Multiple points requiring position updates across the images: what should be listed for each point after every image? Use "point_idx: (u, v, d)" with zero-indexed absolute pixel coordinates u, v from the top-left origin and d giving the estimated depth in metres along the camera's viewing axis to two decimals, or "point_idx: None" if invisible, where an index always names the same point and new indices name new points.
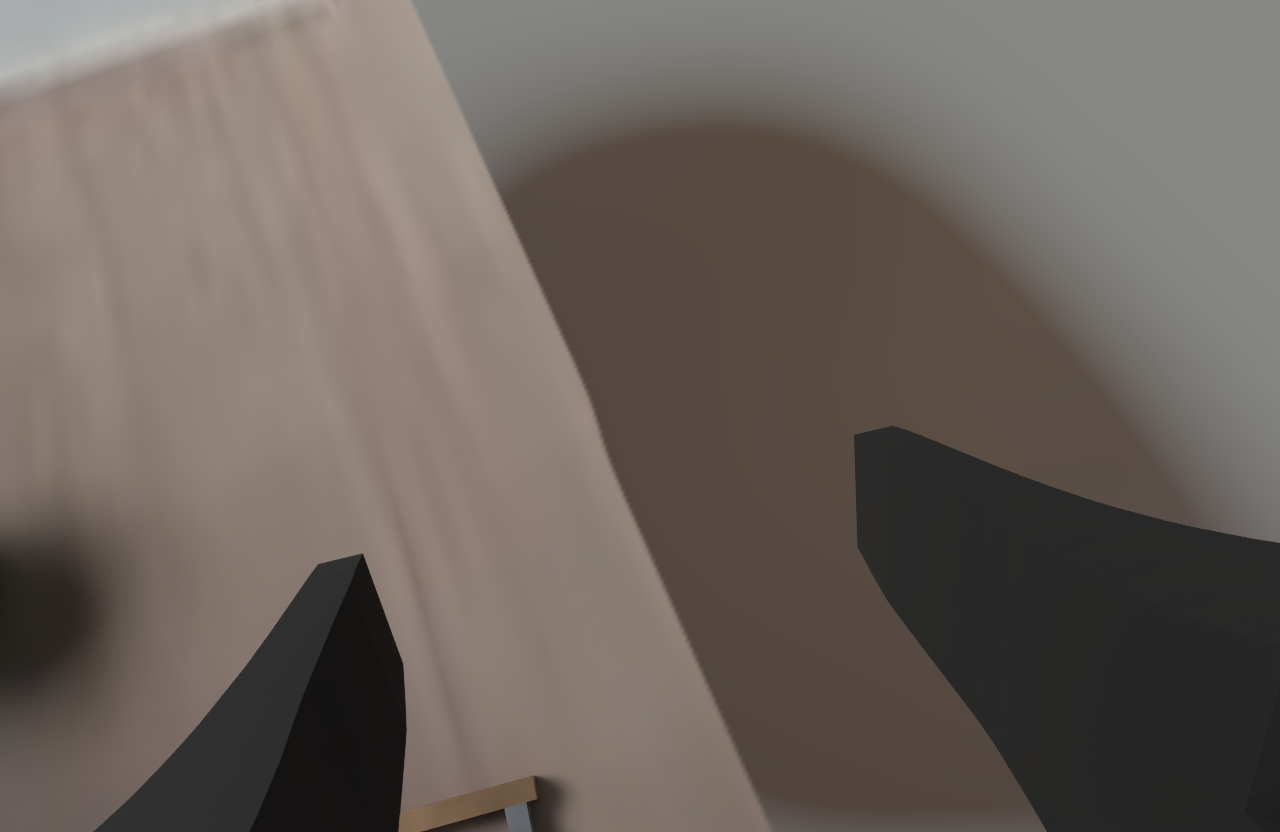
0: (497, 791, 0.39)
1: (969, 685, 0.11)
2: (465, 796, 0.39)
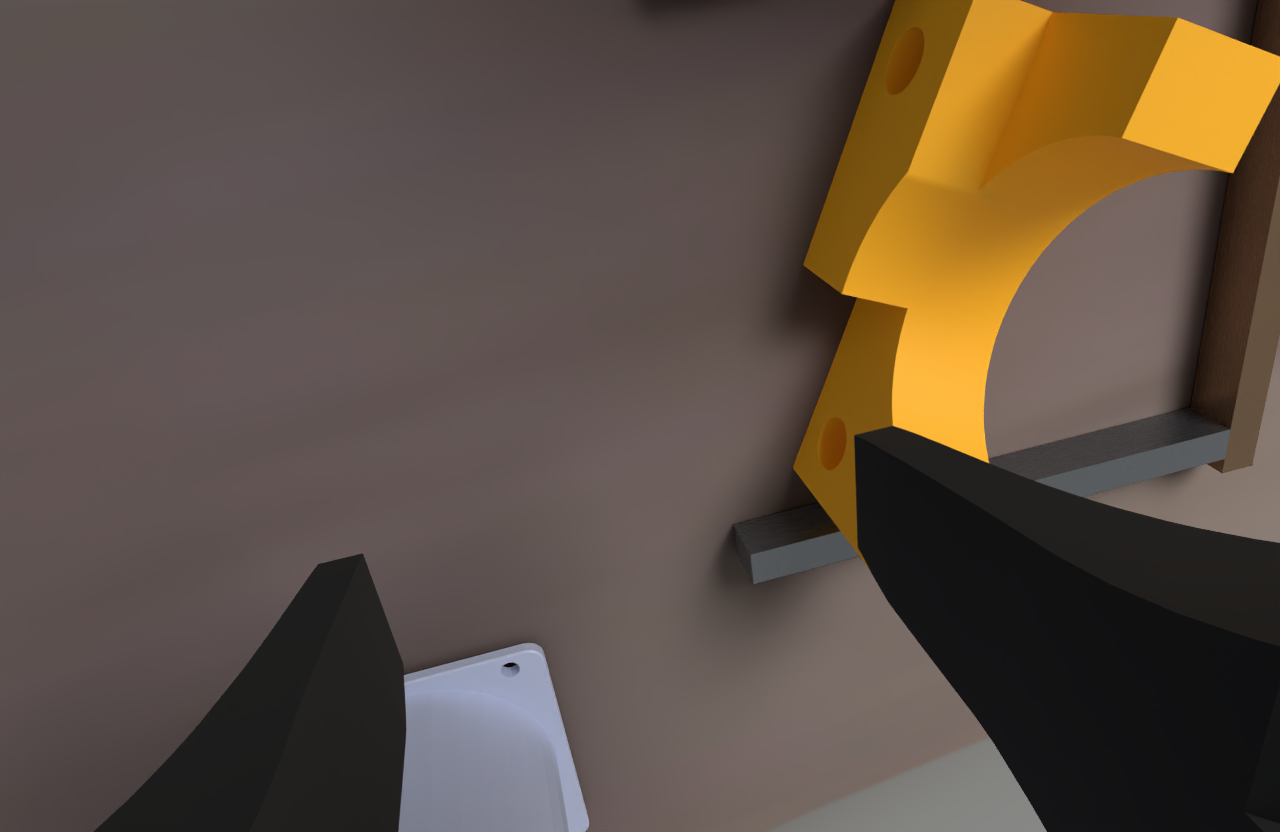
0: (1254, 418, 0.25)
1: (969, 685, 0.11)
2: (1269, 372, 0.24)
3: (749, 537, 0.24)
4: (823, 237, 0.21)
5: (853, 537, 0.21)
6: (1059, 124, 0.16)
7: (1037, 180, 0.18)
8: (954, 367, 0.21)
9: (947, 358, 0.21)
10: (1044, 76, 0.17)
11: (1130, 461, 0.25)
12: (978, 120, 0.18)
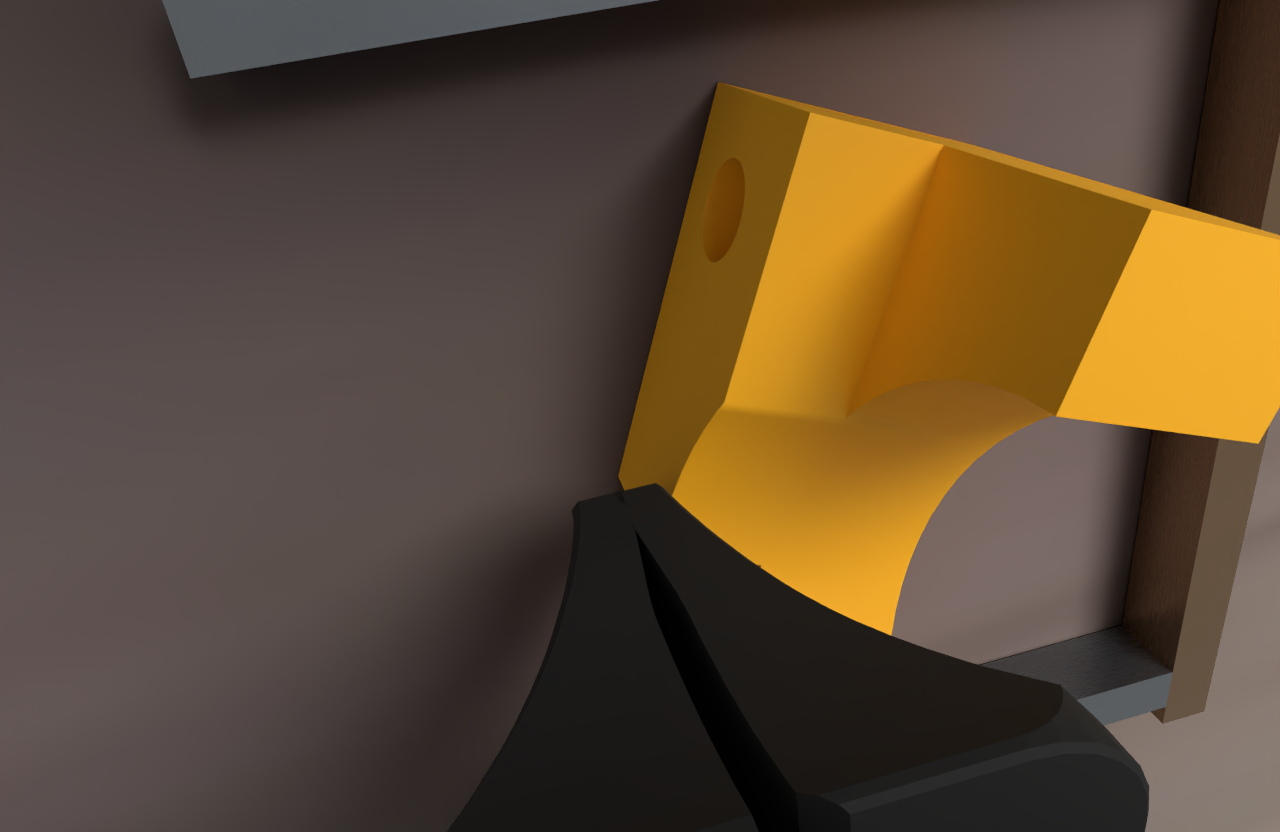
0: (1206, 656, 0.18)
1: None
2: (1225, 601, 0.17)
3: None
4: (638, 451, 0.14)
5: None
6: (955, 349, 0.10)
7: (935, 405, 0.11)
8: None
9: None
10: (933, 255, 0.10)
11: None
12: (833, 317, 0.11)
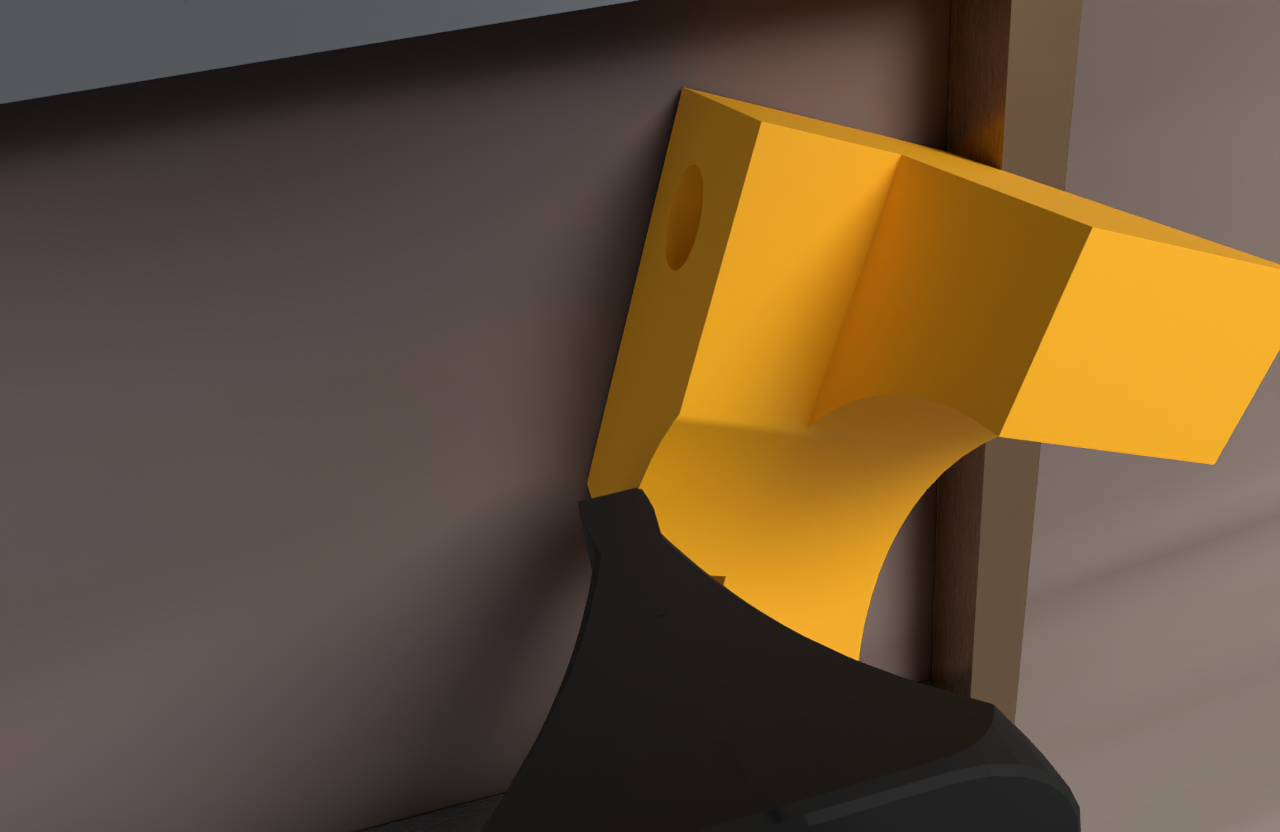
0: None
1: None
2: (1016, 663, 0.17)
3: None
4: (605, 459, 0.14)
5: None
6: (907, 363, 0.09)
7: (896, 418, 0.11)
8: None
9: None
10: (889, 266, 0.10)
11: None
12: (790, 328, 0.11)
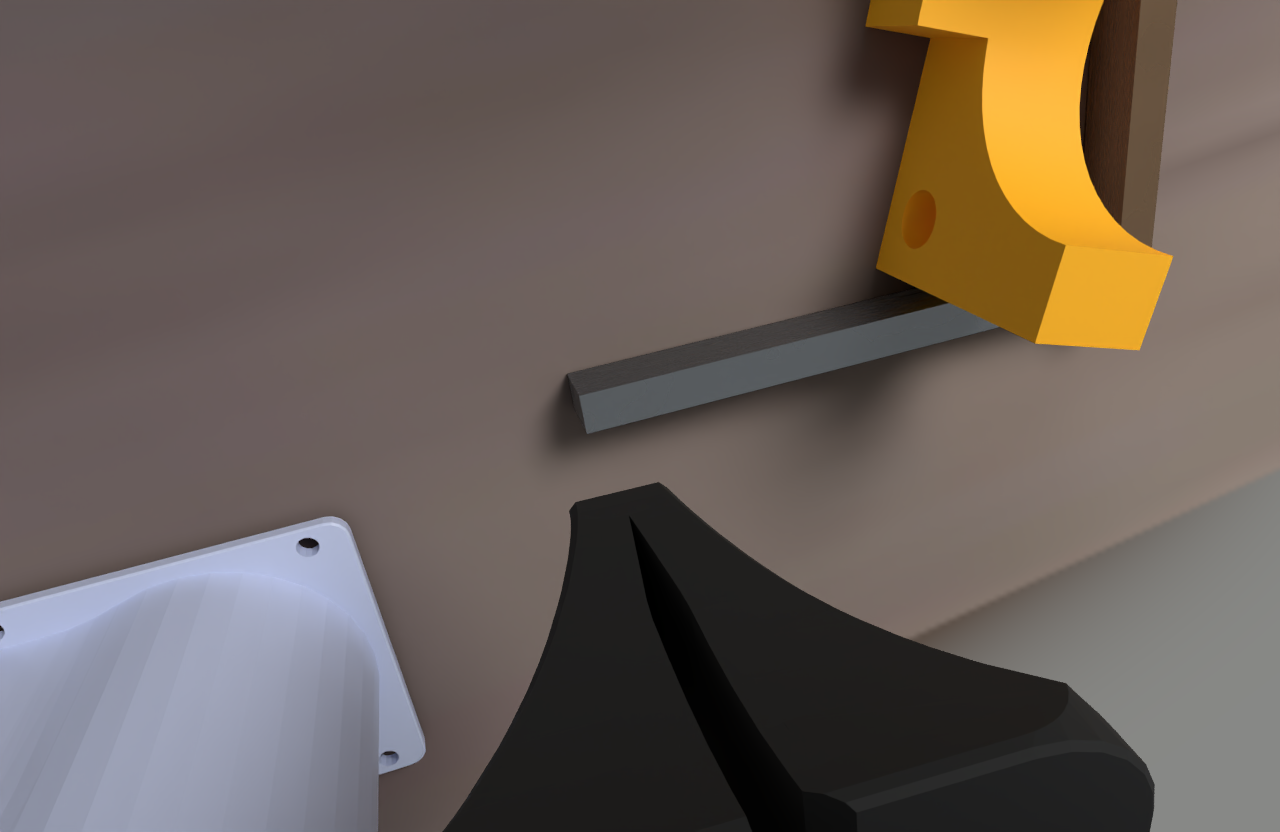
0: None
1: None
2: (1154, 192, 0.22)
3: (581, 382, 0.21)
4: None
5: (961, 299, 0.19)
6: None
7: None
8: (1044, 102, 0.19)
9: (1036, 93, 0.19)
10: None
11: None
12: None
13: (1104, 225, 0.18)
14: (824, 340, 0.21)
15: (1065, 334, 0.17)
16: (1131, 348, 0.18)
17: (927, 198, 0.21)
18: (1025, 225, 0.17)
